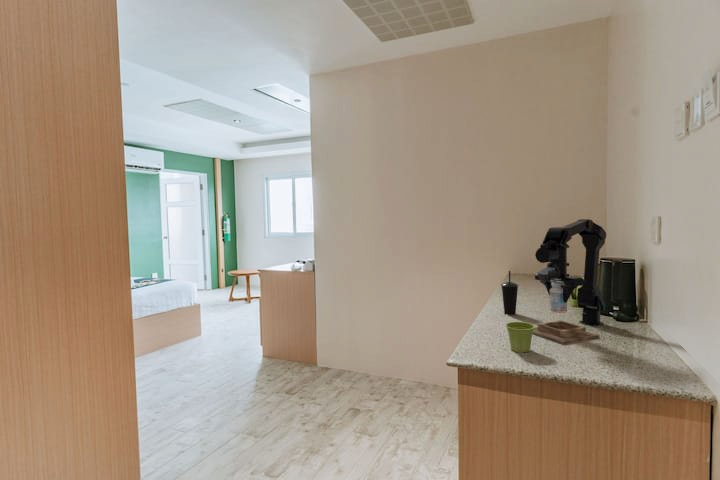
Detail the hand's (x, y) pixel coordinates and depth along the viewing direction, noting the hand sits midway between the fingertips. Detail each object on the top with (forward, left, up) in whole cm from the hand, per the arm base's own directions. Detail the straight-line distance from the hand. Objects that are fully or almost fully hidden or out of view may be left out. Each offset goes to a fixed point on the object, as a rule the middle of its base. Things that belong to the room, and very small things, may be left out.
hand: (558, 300), depth 159 cm
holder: (0, +1, -13) cm, 13 cm away
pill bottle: (0, 0, -4) cm, 4 cm away
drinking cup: (-5, -33, -13) cm, 36 cm away
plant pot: (+26, +8, -13) cm, 30 cm away
